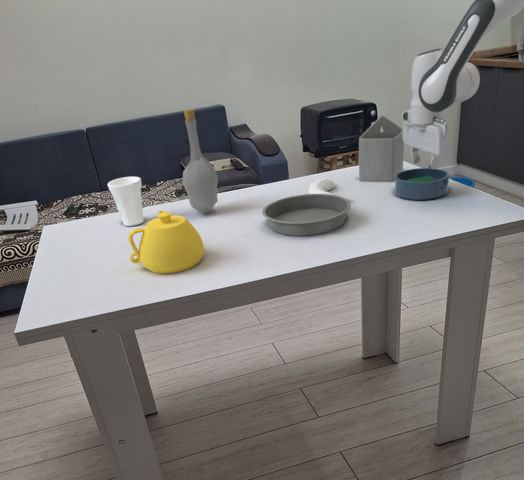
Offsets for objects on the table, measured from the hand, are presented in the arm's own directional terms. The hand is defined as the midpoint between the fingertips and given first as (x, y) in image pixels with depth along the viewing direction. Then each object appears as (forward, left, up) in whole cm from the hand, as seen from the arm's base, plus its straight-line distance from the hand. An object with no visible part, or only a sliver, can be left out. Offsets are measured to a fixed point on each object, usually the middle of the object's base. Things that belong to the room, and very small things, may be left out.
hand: (424, 165), depth 158 cm
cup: (+81, +38, -9) cm, 89 cm away
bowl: (+1, 0, -8) cm, 8 cm away
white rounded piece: (+27, +6, -9) cm, 28 cm away
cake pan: (+27, +29, -9) cm, 40 cm away
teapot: (+53, +61, -9) cm, 81 cm away
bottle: (+62, +26, -9) cm, 67 cm away
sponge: (+1, 0, -8) cm, 8 cm away
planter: (+15, -14, -9) cm, 22 cm away
